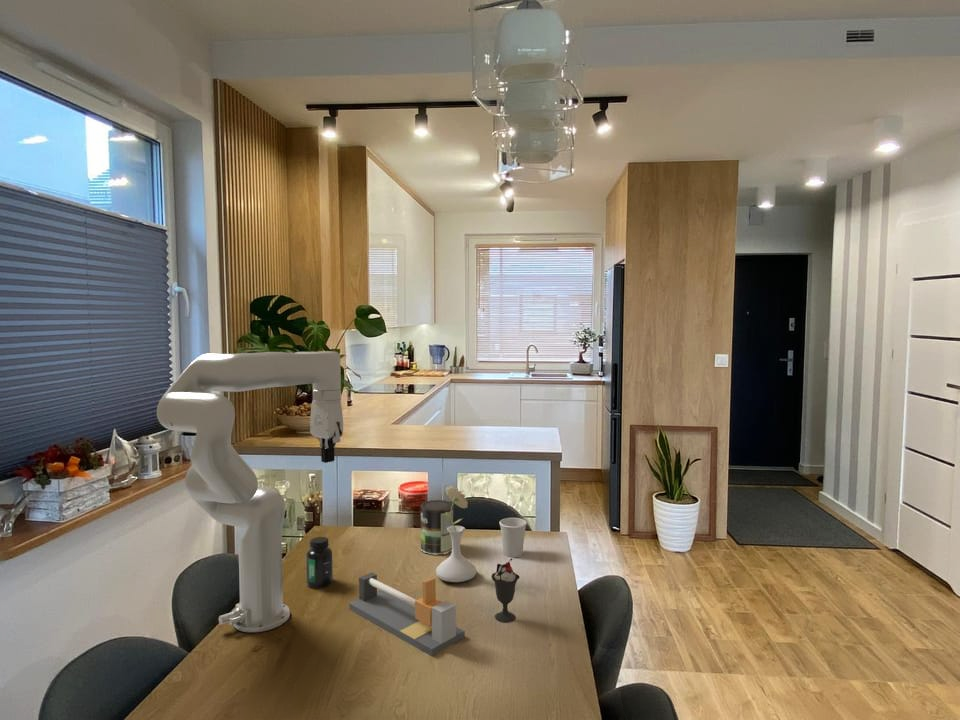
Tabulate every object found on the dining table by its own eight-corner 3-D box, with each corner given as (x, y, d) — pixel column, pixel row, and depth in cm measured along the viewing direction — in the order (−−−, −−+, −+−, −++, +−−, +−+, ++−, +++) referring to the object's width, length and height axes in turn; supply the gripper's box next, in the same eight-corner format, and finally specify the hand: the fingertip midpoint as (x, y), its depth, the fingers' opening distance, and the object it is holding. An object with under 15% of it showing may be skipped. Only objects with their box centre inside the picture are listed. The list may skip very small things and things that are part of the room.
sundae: (517, 625, 134) (517, 563, 134) (489, 622, 136) (489, 560, 135) (521, 612, 141) (521, 552, 140) (494, 609, 142) (494, 549, 141)
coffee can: (424, 557, 174) (424, 511, 173) (417, 544, 184) (417, 501, 183) (457, 553, 177) (457, 508, 176) (449, 541, 187) (448, 498, 186)
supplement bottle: (312, 591, 152) (311, 546, 151) (303, 581, 157) (302, 538, 157) (336, 584, 156) (336, 540, 155) (327, 575, 161) (326, 533, 161)
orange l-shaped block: (415, 618, 130) (414, 579, 129) (428, 611, 133) (428, 573, 132) (430, 626, 127) (430, 586, 126) (443, 619, 130) (443, 580, 129)
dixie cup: (527, 549, 180) (527, 518, 180) (525, 560, 172) (525, 527, 171) (500, 548, 181) (500, 516, 181) (497, 558, 173) (497, 526, 173)
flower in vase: (482, 582, 157) (482, 492, 156) (443, 589, 153) (442, 496, 151) (466, 564, 169) (466, 480, 168) (428, 570, 165) (428, 484, 164)
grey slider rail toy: (349, 609, 142) (348, 575, 142) (381, 595, 150) (381, 563, 149) (431, 656, 122) (431, 617, 122) (464, 637, 129) (464, 600, 129)
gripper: (300, 394, 162) (301, 459, 163) (330, 399, 151) (331, 468, 153) (323, 392, 167) (324, 455, 168) (354, 397, 157) (355, 463, 158)
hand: (328, 461), depth 160 cm, fingers closed
